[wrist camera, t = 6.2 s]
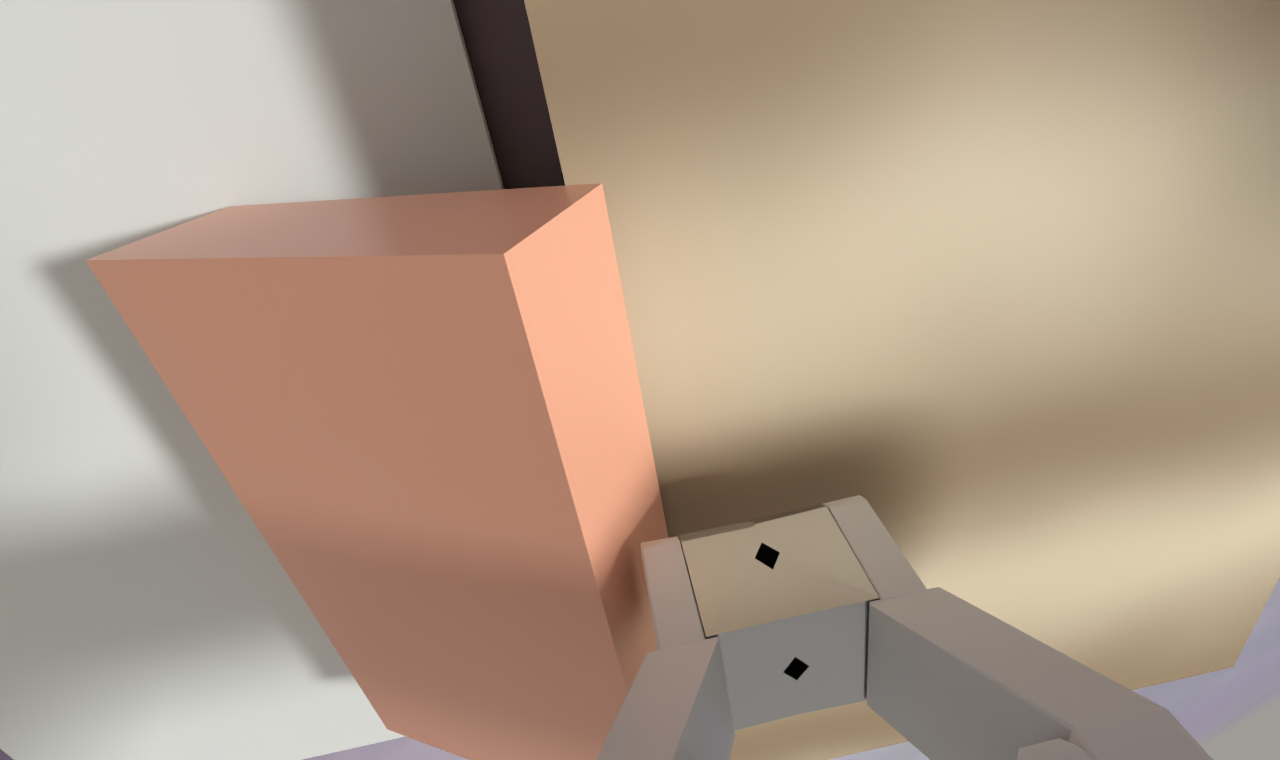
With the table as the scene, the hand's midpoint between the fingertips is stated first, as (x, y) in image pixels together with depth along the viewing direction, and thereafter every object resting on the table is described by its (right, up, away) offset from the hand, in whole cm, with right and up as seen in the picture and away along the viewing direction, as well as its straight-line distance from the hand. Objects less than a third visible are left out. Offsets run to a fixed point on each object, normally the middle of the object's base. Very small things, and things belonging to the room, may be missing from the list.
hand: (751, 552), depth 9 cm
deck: (+4, +3, +4) cm, 6 cm away
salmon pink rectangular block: (-4, 0, +2) cm, 4 cm away
